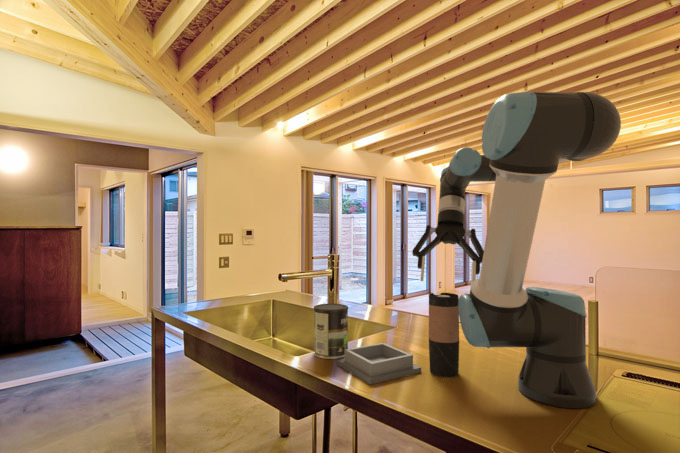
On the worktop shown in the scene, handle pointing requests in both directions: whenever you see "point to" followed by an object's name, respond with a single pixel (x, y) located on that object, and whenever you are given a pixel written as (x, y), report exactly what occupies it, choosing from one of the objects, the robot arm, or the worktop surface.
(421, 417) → the worktop surface
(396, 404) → the worktop surface
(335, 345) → the coffee can
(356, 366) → the dock
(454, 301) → the travel mug
